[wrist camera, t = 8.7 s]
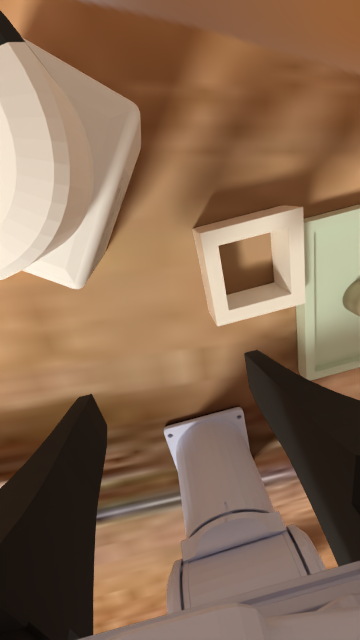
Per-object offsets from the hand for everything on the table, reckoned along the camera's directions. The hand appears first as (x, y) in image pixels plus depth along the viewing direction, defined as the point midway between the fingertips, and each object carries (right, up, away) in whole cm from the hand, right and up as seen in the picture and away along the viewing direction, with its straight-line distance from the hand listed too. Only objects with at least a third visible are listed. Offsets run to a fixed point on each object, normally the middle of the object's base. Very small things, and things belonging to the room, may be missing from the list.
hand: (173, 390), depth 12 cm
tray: (+15, +6, +10) cm, 19 cm away
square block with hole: (+5, +8, +8) cm, 12 cm away
